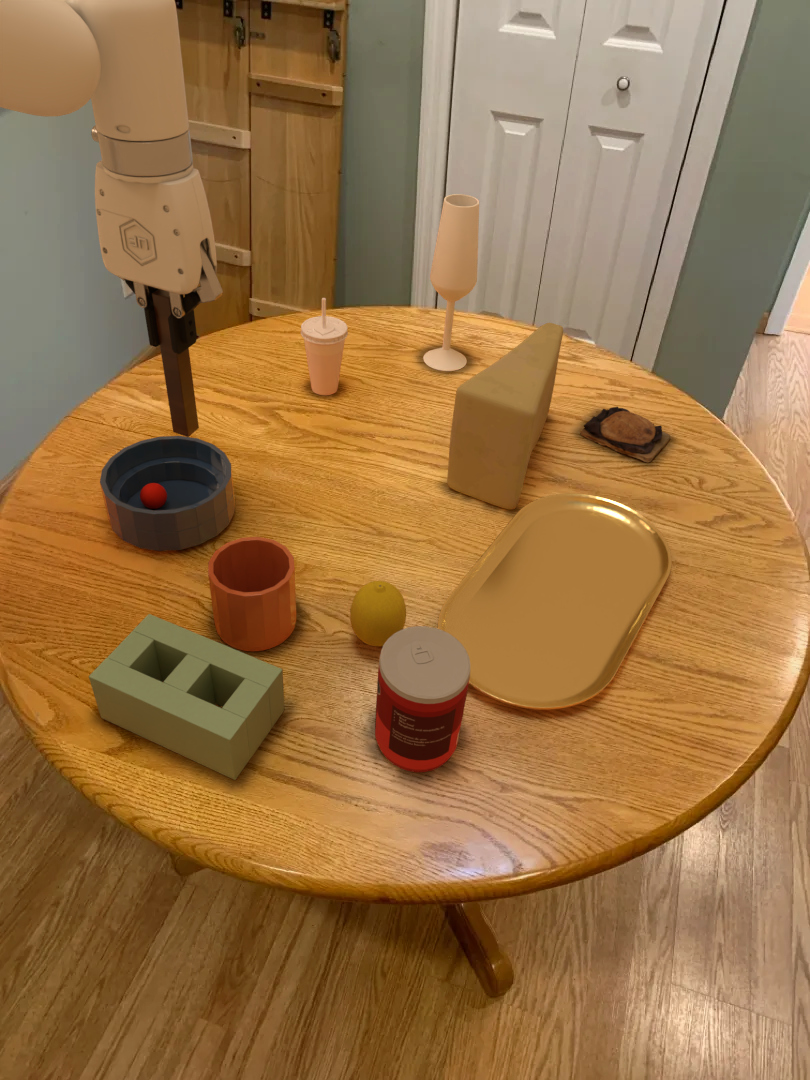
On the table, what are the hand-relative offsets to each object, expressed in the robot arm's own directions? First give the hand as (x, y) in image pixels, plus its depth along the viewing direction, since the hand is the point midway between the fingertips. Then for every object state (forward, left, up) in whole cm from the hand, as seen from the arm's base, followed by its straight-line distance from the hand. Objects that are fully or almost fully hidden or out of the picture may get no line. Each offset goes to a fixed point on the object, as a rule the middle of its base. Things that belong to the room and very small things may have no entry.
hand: (173, 342), depth 84 cm
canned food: (+20, -34, -22) cm, 45 cm away
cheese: (+40, +8, -22) cm, 47 cm away
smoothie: (+17, +26, -22) cm, 38 cm away
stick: (0, 0, -11) cm, 11 cm away
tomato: (-5, +1, -20) cm, 21 cm away
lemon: (+18, -22, -22) cm, 36 cm away
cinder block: (0, -29, -22) cm, 36 cm away
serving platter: (+39, -18, -22) cm, 48 cm away
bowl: (-3, 0, -22) cm, 22 cm away
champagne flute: (+36, +33, -22) cm, 54 cm away
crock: (+6, -18, -22) cm, 29 cm away
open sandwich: (+57, +11, -22) cm, 63 cm away
